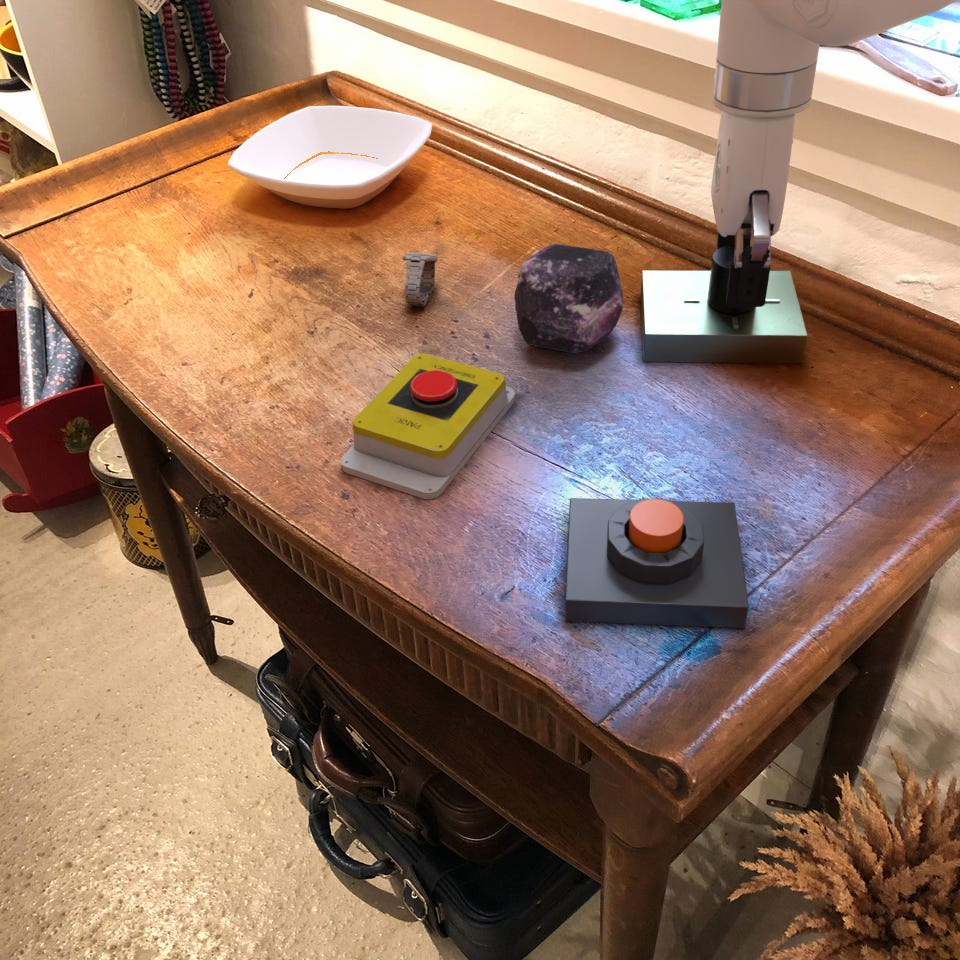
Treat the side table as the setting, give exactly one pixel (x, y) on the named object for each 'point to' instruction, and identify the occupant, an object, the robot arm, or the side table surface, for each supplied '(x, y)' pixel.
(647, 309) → the panel
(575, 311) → the mineral specimen
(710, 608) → the button block
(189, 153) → the side table surface
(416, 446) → the emergency button
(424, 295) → the wristwatch
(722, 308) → the knob
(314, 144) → the bowl
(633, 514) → the button
